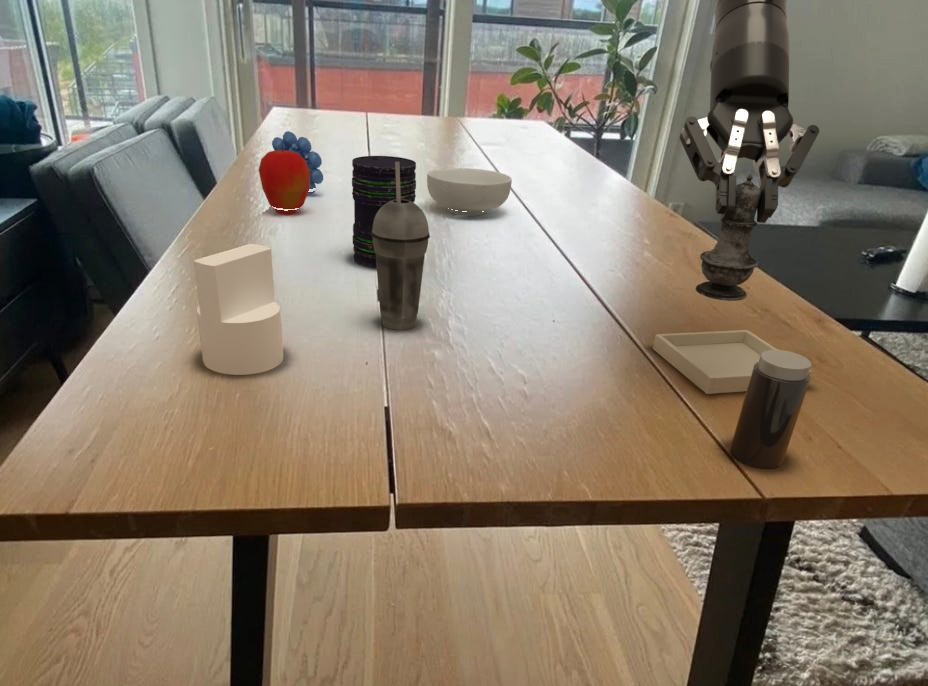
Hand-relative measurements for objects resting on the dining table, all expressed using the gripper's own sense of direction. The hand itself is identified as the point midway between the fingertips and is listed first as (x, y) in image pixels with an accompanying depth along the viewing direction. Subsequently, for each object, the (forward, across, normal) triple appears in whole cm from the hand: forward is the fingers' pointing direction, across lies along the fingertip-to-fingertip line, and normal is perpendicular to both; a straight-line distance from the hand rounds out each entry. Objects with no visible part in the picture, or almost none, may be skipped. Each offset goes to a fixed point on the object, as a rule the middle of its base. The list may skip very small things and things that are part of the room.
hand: (746, 216), depth 75 cm
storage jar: (-16, -43, +44) cm, 63 cm away
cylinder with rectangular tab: (+14, -52, +14) cm, 56 cm away
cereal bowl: (-42, -32, +71) cm, 89 cm away
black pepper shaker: (+23, +3, +5) cm, 23 cm away
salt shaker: (+5, 0, +8) cm, 9 cm away
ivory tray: (+7, +5, +21) cm, 23 cm away
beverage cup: (+4, -36, +25) cm, 44 cm away
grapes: (-44, -68, +73) cm, 109 cm away
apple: (-34, -66, +62) cm, 97 cm away
